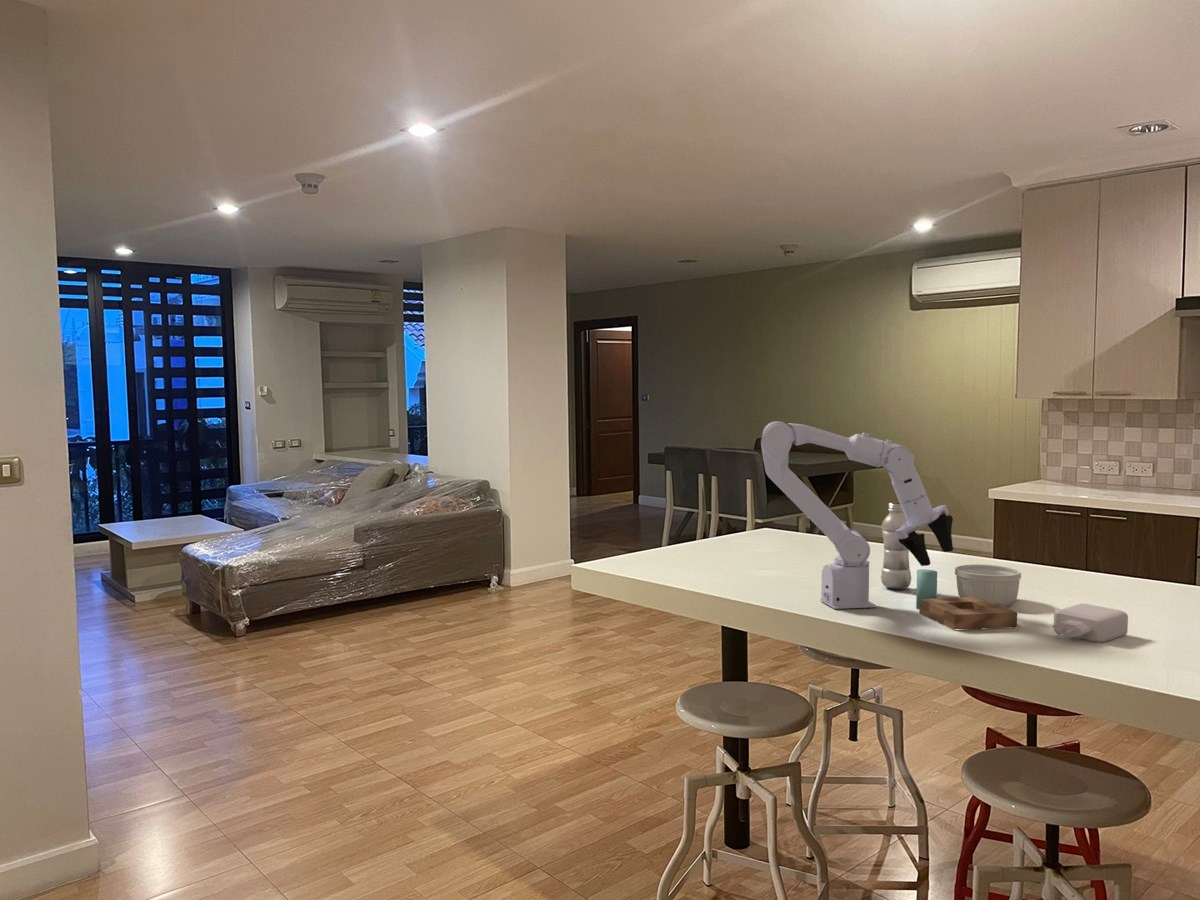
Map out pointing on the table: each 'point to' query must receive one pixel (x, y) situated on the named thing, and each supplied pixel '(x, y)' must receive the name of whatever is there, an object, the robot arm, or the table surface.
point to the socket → (968, 613)
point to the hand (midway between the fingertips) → (937, 558)
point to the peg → (926, 585)
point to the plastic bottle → (895, 551)
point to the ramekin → (988, 582)
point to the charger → (1090, 622)
